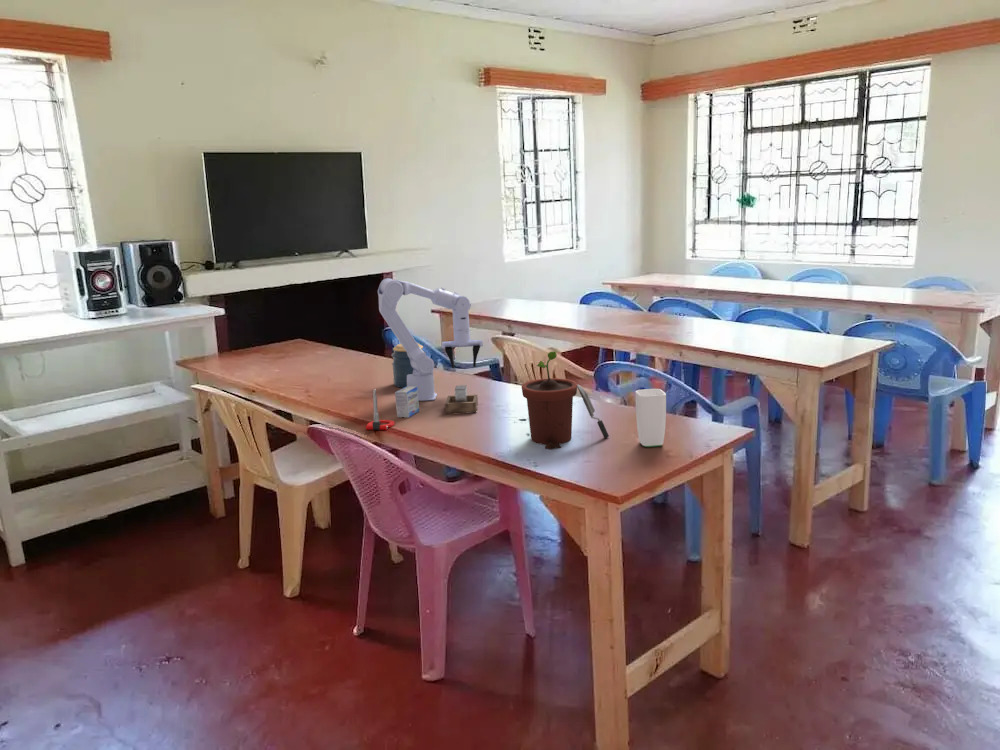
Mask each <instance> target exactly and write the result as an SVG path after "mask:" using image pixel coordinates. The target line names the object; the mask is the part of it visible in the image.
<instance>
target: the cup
mask: <svg viewBox="0 0 1000 750" xmlns="http://www.w3.org/2000/svg"><path fill="white" fill-rule="evenodd" d="M635 415H636V417H635V418H636V419H635V420H636V428H637V429H636V430H637V436H638V442H639V443H640V444H641V445H642V447H644V448H645V447H646V448H651V447H654V448H655V447H661V446H662V445H663V444H664V441H665V431H666V423H667V422H666V420H667V418H666V417H667V393H666V392H665V391H664V390H662V389H660V388H646V389H645V388H644V389H637V390H635Z"/></svg>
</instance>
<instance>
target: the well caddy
mask: <svg viewBox="0 0 1000 750" xmlns="http://www.w3.org/2000/svg"><path fill="white" fill-rule="evenodd" d="M478 399H479V397H478V394H467V400H468V402H456V401H455V395H447V397H446V399H445V402H444V408H445V415H453V413H460V414H467V413H466V412H476V411H477V410H478V407H477V406H479V400H478ZM476 413H477V412H476Z"/></svg>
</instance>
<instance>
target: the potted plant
mask: <svg viewBox="0 0 1000 750" xmlns="http://www.w3.org/2000/svg"><path fill="white" fill-rule="evenodd" d="M557 356H558V355H557V350H555V351H549V352H548V353H547V357H548V360H547V362H546V364H545V363H544V362H543V361H539V363H538V364H537V365H536V367H540V368H543V369H545V368H546V374H547V378H538V379H531V380H528V381H526V382H524V383H522V385H521V391H522V393H521V394H522V396H523V398H524V399H526V406H527V412H528V413H527V414H528V423H529V432H530V439H531V442H533V443H534V444H538V445H545V446H544V449H545V450H554V449H561V448H562V444H565V443H568V442H570V441H571V440H572V434H573V433H572V431H573V429H572V428H573V405H574V404H573V401H574V397H575V396H576V395H577V392H579V394H580V395H581V398H582V400H583V403H584V406H585V408H586V409H587V412H588V414H589V417H590V418H591V419H594V420H597V425H598V428H599V430H600V432H601V434H602V436H603V438H604V439H607V438H609V436H610V435H609V433H608V431H607V429H606V426H605V424H604V422H603V420H602V419H601V420H600V418H599V417H596V416H595V415H594V413H595V407H594V405H593V403H592V401H591V398H590V396H589V394H588V393H587V391H586V390H585V389H584V387H582V385H580V384H578V383H577V382H576V381H574V380H571V379H567V378H550V371H549V362H550V361H551V360H554V359H556V358H557Z"/></svg>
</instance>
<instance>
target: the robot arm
mask: <svg viewBox="0 0 1000 750" xmlns="http://www.w3.org/2000/svg"><path fill="white" fill-rule="evenodd" d="M410 294H413V295H416V296H419V297H423V298H426V299H430V301H431V302H432V304H433V305H436V306H439V307H441V308H445V309H448V310H452V325H453V326H452V327H453V340H451V341H450V340H449V341H442V342H441V348H442V349H444V351H445V354H446V355H447V357H448V359H449V361H450V365H451V368H452V369H454V368H455V359H454V348H467V347H472V356H473V357H472V358H473V361H472V366H473V368H475V367H476V365H477V358H478V355H479V351H480V348H481V347H484V340H483V339H471V333H470V332H471V330H470V329H471V327H470V316H469V310H470V309H471V306H472V303H470V302H471V301H470V300H469V299H468V298H467V296H464V295H460V294H459V293H458V292H455V291H454V292H453V291H452V292H451V291H448V290H446V288H444V287H440V288H439V287H438V288H434V290H432V289H429V288H428V287H423V286H421V285H419V284H416V283H412V282H410V281H406V280H399V279H393V278H389V277H387V278H384V279H382V280H381V282H380V283H379V286H378V289H377V295H378V311H379V313H380V314H381V316H382V318H383V319H384V321H385V322H386V323H387V325H388V327H389V328H390V329H391V331H392V333H393V334H394V336H395V337H396V338H397V339H398V342H399V344H401V345H402V346H403V348H404V349H405V351H406V352H407V355H408V357H409V358H410V364H411V366H412V367H413V368H414V370H413V374H408V375H407V386H415V387H417V389H418V401H435V400H436V398H437V395H438V393H437V392H435V391H436V390H435V380H434V379H435V378H434V377H435V376H434V369H435V361H434V360H433V359H432V358H431V357H430V356H428V355H427V353H426V354H425V353H424V351H425V350H423V348H422V349H421V348H420V347H419V345H418V344H417V343H418V342H417V341H416V339H415V338H414V336H413V335H412V333H411V331H410V330H409V328H408V327H407V326H406V324H405V323H404V321H403V320H402V318H401V316H400V315H399V313H398V312H397V310H396V308H397V304H398V302H399V300H400V299H401V297H402V296H408V295H410Z"/></svg>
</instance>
